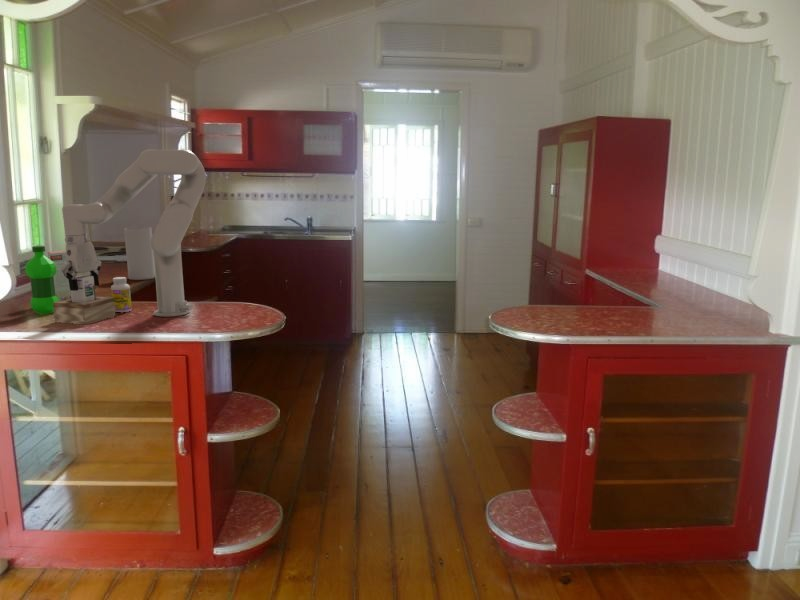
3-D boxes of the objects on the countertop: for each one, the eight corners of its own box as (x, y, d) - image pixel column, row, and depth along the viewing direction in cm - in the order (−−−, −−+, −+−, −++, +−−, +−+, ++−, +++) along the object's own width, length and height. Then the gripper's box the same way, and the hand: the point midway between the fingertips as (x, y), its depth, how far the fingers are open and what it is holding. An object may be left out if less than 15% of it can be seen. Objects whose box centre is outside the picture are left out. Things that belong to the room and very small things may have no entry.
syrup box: (87, 318, 242) (83, 277, 240) (73, 317, 244) (68, 277, 241) (98, 315, 248) (94, 275, 245) (84, 314, 249) (80, 275, 246)
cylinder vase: (159, 278, 341) (155, 227, 336) (134, 281, 333) (129, 229, 328) (149, 275, 350) (145, 226, 345) (124, 278, 342) (120, 228, 337)
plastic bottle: (46, 309, 265) (39, 244, 261) (67, 311, 261) (60, 245, 257) (24, 314, 256) (16, 247, 251) (44, 316, 252) (37, 248, 247)
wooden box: (115, 316, 250) (113, 297, 249) (86, 324, 237) (84, 304, 236) (85, 314, 255) (83, 295, 253) (54, 322, 242) (52, 302, 240)
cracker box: (89, 298, 287) (84, 248, 283) (93, 300, 282) (88, 250, 279) (52, 302, 279) (47, 251, 275) (55, 305, 274) (49, 252, 270)
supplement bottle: (111, 314, 255) (108, 279, 252) (114, 310, 261) (110, 277, 259) (130, 312, 256) (127, 278, 254) (132, 309, 263) (129, 276, 260)
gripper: (67, 242, 231) (74, 292, 235) (104, 236, 247) (111, 283, 251) (50, 242, 234) (57, 292, 237) (88, 237, 250) (94, 283, 253)
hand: (84, 287), depth 244 cm, fingers open, 9 cm apart
